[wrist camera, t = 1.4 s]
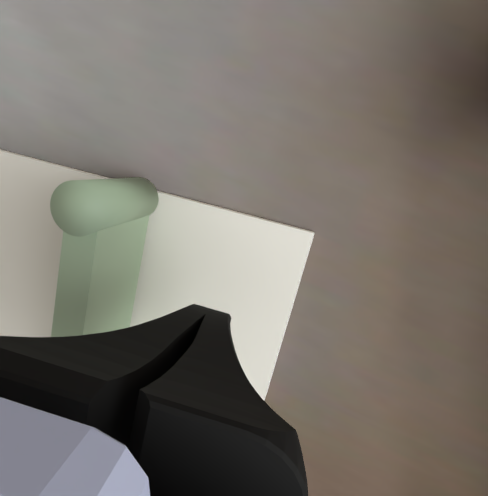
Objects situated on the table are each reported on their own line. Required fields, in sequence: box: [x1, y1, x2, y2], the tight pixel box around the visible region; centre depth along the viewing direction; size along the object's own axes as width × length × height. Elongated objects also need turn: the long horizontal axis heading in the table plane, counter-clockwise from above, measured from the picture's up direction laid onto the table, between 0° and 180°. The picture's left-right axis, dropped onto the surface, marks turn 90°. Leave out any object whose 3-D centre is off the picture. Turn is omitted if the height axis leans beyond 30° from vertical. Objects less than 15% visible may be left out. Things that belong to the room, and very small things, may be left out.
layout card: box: [0, 149, 314, 401], centre depth 19 cm, size 22×20×1 cm
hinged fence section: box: [50, 177, 159, 337], centre depth 15 cm, size 13×2×5 cm, turn 166°
